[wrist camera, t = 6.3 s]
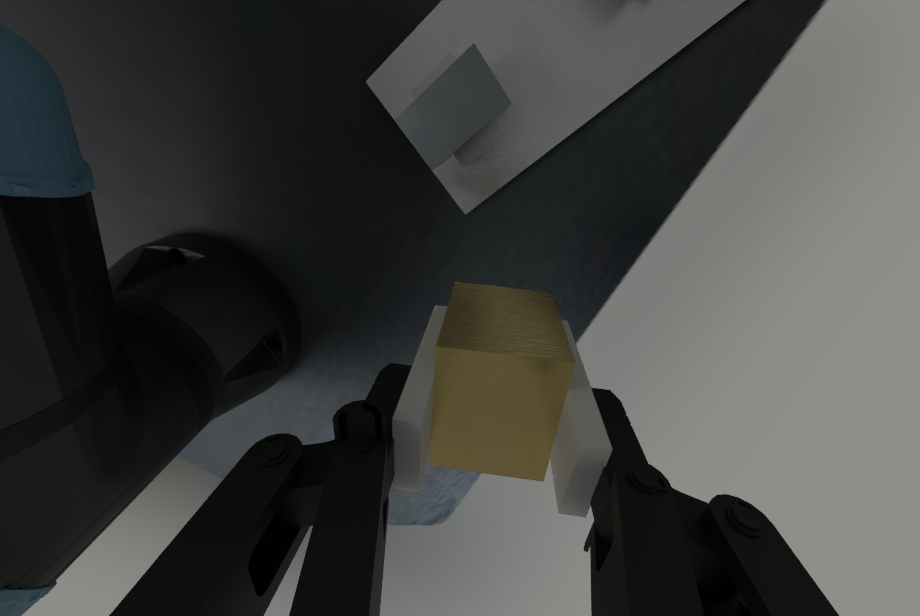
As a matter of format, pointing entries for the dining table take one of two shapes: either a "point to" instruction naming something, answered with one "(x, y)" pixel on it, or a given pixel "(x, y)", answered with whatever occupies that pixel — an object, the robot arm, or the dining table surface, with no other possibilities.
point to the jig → (523, 77)
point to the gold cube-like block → (499, 381)
